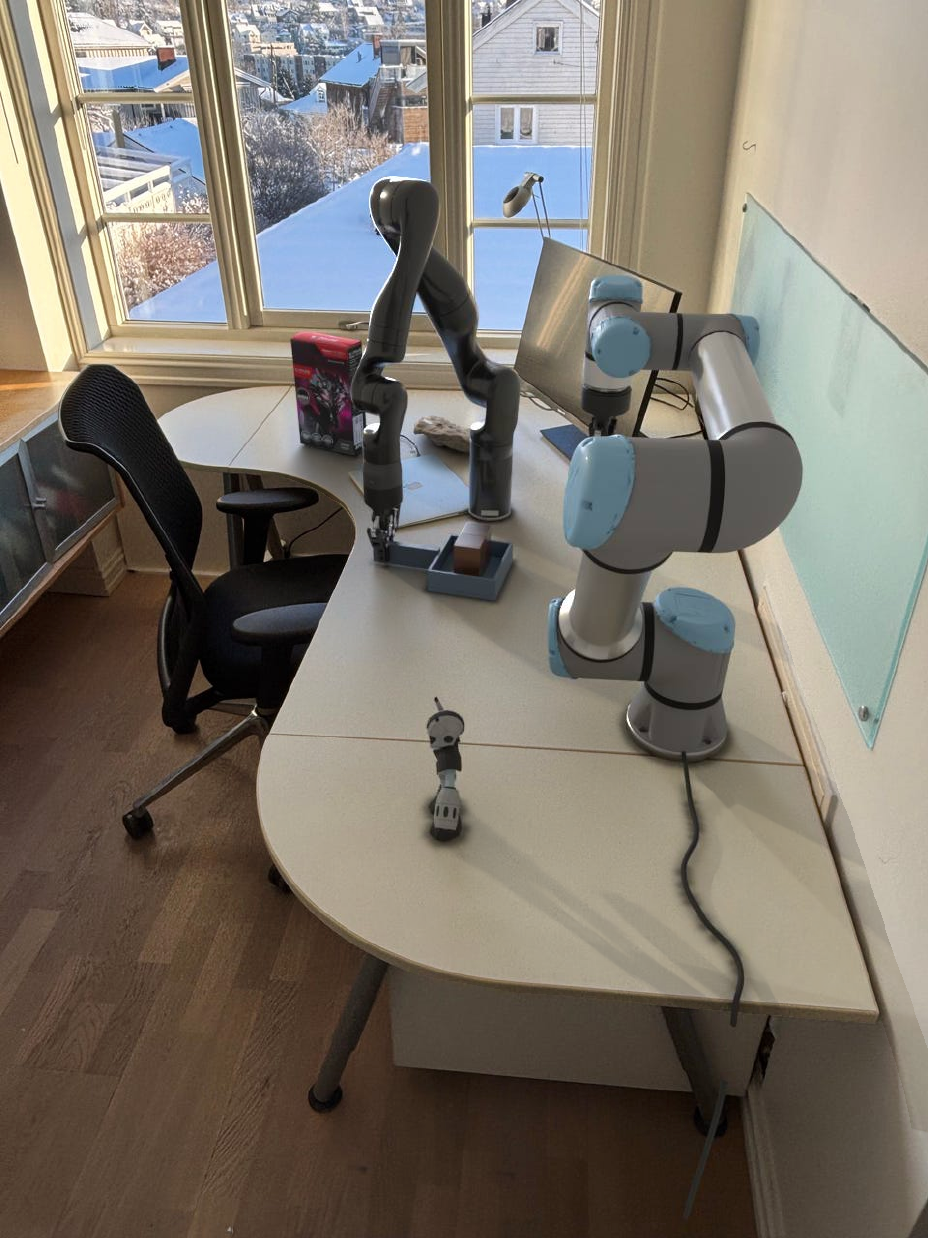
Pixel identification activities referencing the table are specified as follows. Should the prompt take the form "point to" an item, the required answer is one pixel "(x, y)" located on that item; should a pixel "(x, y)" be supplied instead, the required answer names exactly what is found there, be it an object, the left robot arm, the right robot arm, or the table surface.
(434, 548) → the tray
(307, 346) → the graphics card box
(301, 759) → the table surface
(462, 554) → the walnut block
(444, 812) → the robot
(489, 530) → the walnut block
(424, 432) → the stone
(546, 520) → the table surface
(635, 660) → the right robot arm
